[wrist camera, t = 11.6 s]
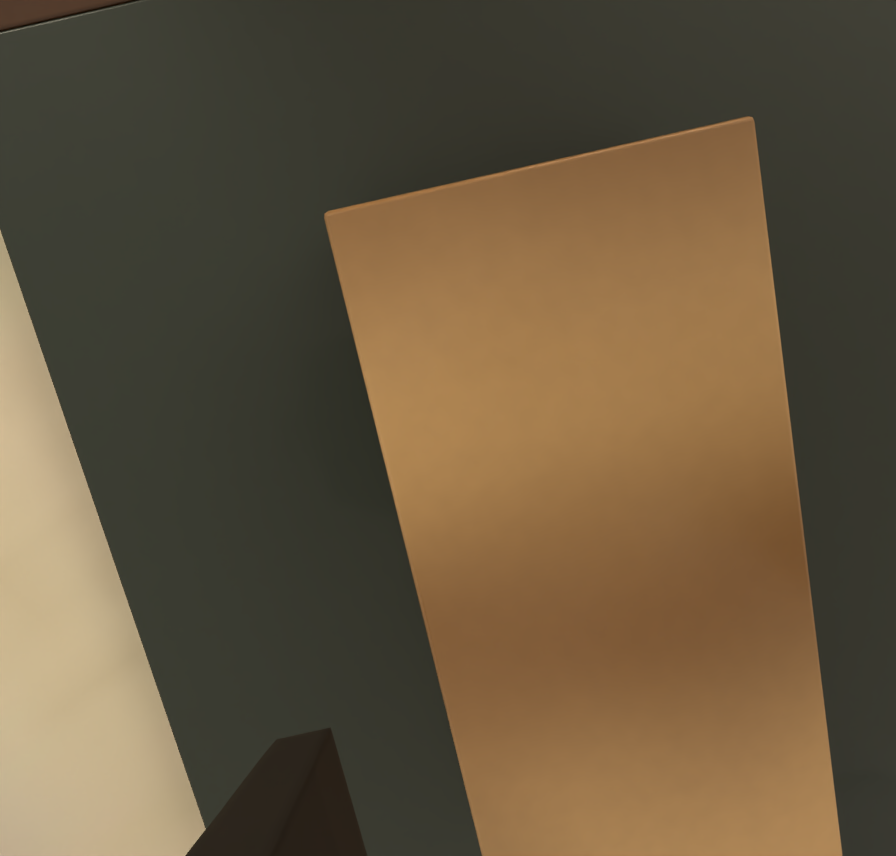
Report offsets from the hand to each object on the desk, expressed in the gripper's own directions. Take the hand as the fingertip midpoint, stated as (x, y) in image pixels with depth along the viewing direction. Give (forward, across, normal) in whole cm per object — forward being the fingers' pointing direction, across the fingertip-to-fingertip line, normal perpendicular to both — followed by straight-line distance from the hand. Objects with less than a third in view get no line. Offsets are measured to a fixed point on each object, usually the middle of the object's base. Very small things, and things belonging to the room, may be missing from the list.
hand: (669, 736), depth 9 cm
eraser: (+6, 0, 0) cm, 6 cm away
